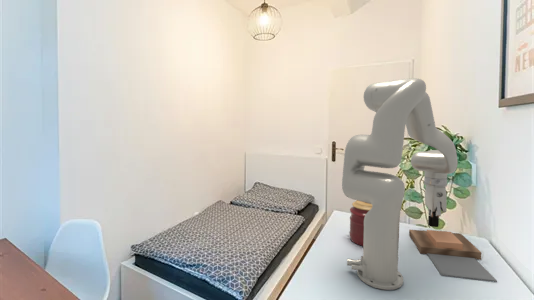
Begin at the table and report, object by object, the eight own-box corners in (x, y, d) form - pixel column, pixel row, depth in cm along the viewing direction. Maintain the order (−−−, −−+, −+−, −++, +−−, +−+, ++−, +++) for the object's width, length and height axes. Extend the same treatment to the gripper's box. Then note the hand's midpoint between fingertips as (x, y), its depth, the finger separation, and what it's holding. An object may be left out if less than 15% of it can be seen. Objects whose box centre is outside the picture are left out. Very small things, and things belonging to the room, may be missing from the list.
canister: (382, 251, 93) (383, 203, 91) (345, 243, 100) (346, 198, 98) (386, 237, 104) (388, 194, 102) (353, 230, 111) (354, 190, 109)
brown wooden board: (420, 253, 91) (420, 246, 91) (409, 235, 106) (409, 229, 105) (481, 259, 87) (481, 252, 86) (460, 239, 101) (460, 233, 101)
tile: (436, 247, 91) (436, 241, 90) (426, 234, 100) (426, 229, 100) (462, 249, 89) (463, 243, 88) (450, 236, 98) (450, 231, 98)
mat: (441, 275, 78) (441, 274, 78) (427, 254, 90) (427, 253, 90) (497, 282, 75) (497, 280, 75) (474, 259, 87) (474, 258, 87)
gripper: (454, 186, 95) (451, 234, 97) (439, 177, 109) (436, 219, 111) (431, 185, 97) (428, 233, 99) (419, 177, 111) (417, 218, 113)
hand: (433, 225), depth 105 cm, fingers closed
